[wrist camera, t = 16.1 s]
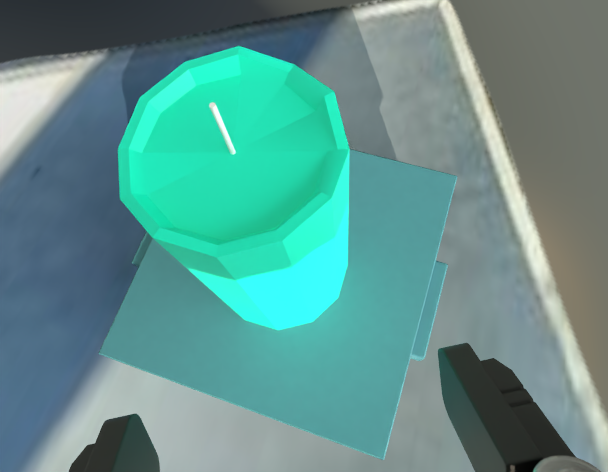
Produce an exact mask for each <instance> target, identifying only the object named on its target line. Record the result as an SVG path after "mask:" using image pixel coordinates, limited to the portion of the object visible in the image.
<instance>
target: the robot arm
mask: <svg viewBox="0 0 608 472" xmlns="http://www.w3.org/2000/svg"><path fill="white" fill-rule="evenodd" d="M438 358H439V368H440V378H441V387H442V395H443V400H444V404H445V407H446V410H447V413H448V416H449V418H450V420H451V422H452V424H453V426H454V428H455V430H456V432H457V435H458V437H459V439H460V441H461V443H462V445H463V447H464V449H465V451H466V453H467V455H468V457H469V459H470V462H471V464H472V466H473V468H474V470H475V472H601V471H600V470H598V469H597V468H596V467H594V466H593V465H591V464H590V463H588V462H586V461H584V460H581V459H578V458H576V457H575V455H574V454H573V453H572V452H571V451H570V449H569V448H568V446H567V445H566V444H565V442H564V441H563V440H562V438H561V437H560V436H559V434H558V433H557V431H556V430H555V429H554V427H553V426H552V425H551V423H550V422H549V420H548V419H547V418H546V416H545V415H544V414H543V412H542V411H541V410H540V408H539V407H538V405H537V404H536V403H535V402H533V399H532V397H531V396H530V395H529V393H528V392H527V390H526V389H524V388H523V385H522V384H521V382H520V381H519V379H518V378H517V377H516V375H515V374H514V373H513V371H512V370H511V369H509V368H508V367H506V366H505V365H503V364H502V363H500V362H499V361H497V360H496V359H494V358H493V359H488V360H483V361H480V360H479V358H478V357H477V355H476V354H475V352H474V351H473V349H472V348H471V346H470V345H469V344H468V343H463V344H459V345H454V346H449V347H445V348H440V349H439V350H438ZM69 472H160V466H159V459H158V455H157V453H156V450H155V448H154V446H153V444H152V442H151V440H150V438H149V435H148V433H147V431H146V429H145V427H144V425H143V423H142V420H141V418H140V417H139V416H138V415H137V414H132V415H127V416H122V417H118V418H113V419H109V420H106V421H105V422H104V424H103V426H102V428H101V431H100V433H99V435H98V438H97V440H96V443H95V444H91V445H87V446H86V448H85V449H84V450H83V451H82V452H81V454H80V455H79V456H78V457H77V459H76V460H75V461H74V462H73V463H72V465H71V467H70V470H69Z"/></svg>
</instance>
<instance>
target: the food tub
mask: <svg viewBox="0 0 608 472" xmlns="http://www.w3.org/2000/svg"><path fill="white" fill-rule="evenodd" d="M456 180H457V176H455V175H451V174H447V173H443V172H439V171H435V170H431V169H427V168H423V167H419V166H415V165H411V164H407V163H403V162H399V161H395V160H391V159H387V158H383V157H379V156H375V155H371V154H367V153H363V152H359V151H356V150H352V149H350V151H349V213H348V266H347V269H346V273H345V276H344V280H343V283H342V286H341V290H340V293H339V297H338V298H337V299H336V300H335V301H334V302H333V303H332V304H331V305H330V306H329V307H328V308H327V309H326V310H325V311H324V312H323V313H322V314H320V315H319V316H318V317H317V318H316V319H315V320H314V321H313V322H310V323H306V324H302V325H298V326H294V327H290V328H285V329H281V330H275V329H272V328H269V327H266V326H262V325H259V324H256V323H252V322H249V321H246V320H244V319H243V318H242V317H241V316H240V315H239V314H237V313H236V312H235V311H234V310H233V309H232V308H231V307H230V306H228V305H227V304H226V303H225V302H224V301H223V300H222V299H221V298H219V297H218V296H217V295H216V294H215V293H214V292H213V291H212V290H210V289H209V288H208V287H207V286H206V285H205V284H204V283H203V282H201V281H200V280H199V279H198V278H197V277H196V276H195V275H194V274H192V273H191V272H190V271H189V270H188V269H187V268H186V267H185V266H183V265H182V264H181V263H180V262H179V261H178V260H177V259H176V258H175V257H173V256H172V255H171V254H170V253H169V252H168V251H167V250H166V249H164V248H163V247H162V246H161V245H160V244H159V243H158V242H157V241H155V240H154V239H153V238H152V237H151V236H150V234H149V233H148V232H147V231H146V233H145V235H144V238H143V240H142V242H141V244H140V246H139V248H138V250H137V252H136V254H135V257H134V259H133V261H132V264H134V265H135V266H137V267H138V270H137V272H136V274H135V276H134V278H133V281H132V283H131V285H130V287H129V289H128V291H127V293H126V296H125V298H124V300H123V302H122V304H121V306H120V308H119V311H118V313H117V315H116V317H115V319H114V321H113V323H112V325H111V328H110V330H109V332H108V334H107V336H106V338H105V340H104V343H103V345H102V347H101V349H100V351H99V354H100V355H103V356H106V357H108V358H111V359H114V360H116V361H119V362H122V363H124V364H127V365H130V366H132V367H135V368H138V369H141V370H143V371H146V372H149V373H151V374H154V375H157V376H159V377H162V378H165V379H167V380H170V381H173V382H175V383H178V384H181V385H183V386H186V387H189V388H191V389H194V390H197V391H199V392H202V393H205V394H207V395H210V396H213V397H215V398H218V399H221V400H224V401H226V402H229V403H232V404H234V405H237V406H240V407H242V408H245V409H248V410H250V411H253V412H256V413H258V414H261V415H264V416H266V417H269V418H272V419H274V420H277V421H280V422H282V423H285V424H288V425H290V426H293V427H296V428H298V429H301V430H304V431H306V432H309V433H312V434H315V435H317V436H320V437H323V438H325V439H328V440H331V441H333V442H336V443H339V444H341V445H344V446H347V447H349V448H352V449H355V450H357V451H360V452H363V453H365V454H368V455H371V456H373V457H376V458H379V459H381V460H384V458H385V454H386V450H387V446H388V442H389V439H390V435H391V431H392V427H393V423H394V419H395V415H396V412H397V408H398V404H399V400H400V396H401V392H402V388H403V385H404V381H405V377H406V373H407V369H408V365H409V361H410V358H411V359H414V360H417V361H421V360H423V359H424V358H425V355H426V351H427V347H428V343H429V339H430V335H431V331H432V327H433V323H434V319H435V315H436V311H437V307H438V303H439V299H440V295H441V291H442V287H443V283H444V279H445V275H446V271H447V267H448V265H447V264H445V263H442V262H438V261H436V257H437V253H438V249H439V245H440V242H441V238H442V234H443V230H444V226H445V222H446V218H447V215H448V211H449V207H450V203H451V199H452V195H453V191H454V188H455V184H456Z"/></svg>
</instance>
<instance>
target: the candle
mask: <svg viewBox="0 0 608 472" xmlns="http://www.w3.org/2000/svg"><path fill="white" fill-rule="evenodd" d="M349 151H350V149H349V145H348V141H347V138H346V134H345V130H344V126H343V123H342V119H341V115H340V111H339V108H338V104H337V100H336V96H335V92H334V91H333V90H331V89H330V88H328V87H327V86H326V85H324V84H323V83H321V82H320V81H318V80H317V79H315V78H314V77H312V76H311V75H309V74H308V73H306V72H305V71H303V70H302V69H300V68H299V67H297V66H296V65H294V64H291V63H288V62H285V61H282V60H279V59H277V58H274V57H271V56H268V55H265V54H262V53H259V52H256V51H253V50H250V49H247V48H244V47H241V46H237V47H233V48H230V49H227V50H223V51H220V52H216V53H213V54H210V55H206V56H203V57H200V58H196V59H193V60H189V61H186V62H184V63H183V64H181V65H180V66H179V67H177V68H176V69H175V70H174V71H172V72H171V73H170V74H169V75H167V76H166V77H165V78H164V79H162V80H161V81H160V82H159V83H157V84H156V85H155V86H153V87H152V88H151V89H150V90H148V91H147V92H146V93H145V94H143V95H142V96H141V97H140V98H139V100H138V103H137V105H136V107H135V110H134V112H133V115H132V117H131V119H130V122H129V124H128V126H127V129H126V131H125V133H124V136H123V138H122V140H121V143H120V145H119V147H118V165H119V189H120V200H121V201H122V202H123V203H124V204H125V206H126V207H127V208H128V209H129V210H130V212H131V213H132V214H133V215H134V216H135V218H136V219H137V220H138V221H139V222H140V224H141V225H142V226H143V227H144V228H145V230H146V231H147V232H148V233H149V234H150V236H151V237H152V238H153V239H154V240H155V241H157V242H158V243H159V244H160V245H161V246H162V247H163V248H164V249H166V250H167V251H168V252H169V253H170V254H171V255H172V256H173V257H175V258H176V259H177V260H178V261H179V262H180V263H181V264H182V265H183V266H185V267H186V268H187V269H188V270H189V271H190V272H191V273H192V274H194V275H195V276H196V277H197V278H198V279H199V280H200V281H201V282H203V283H204V284H205V285H206V286H207V287H208V288H209V289H210V290H212V291H213V292H214V293H215V294H216V295H217V296H218V297H219V298H221V299H222V300H223V301H224V302H225V303H226V304H227V305H228V306H230V307H231V308H232V309H233V310H234V311H235V312H236V313H237V314H239V315H240V316H241V317H242V318H243V319H244V320H246V321H249V322H252V323H256V324H259V325H262V326H266V327H269V328H272V329H275V330H281V329H285V328H290V327H294V326H298V325H302V324H306V323H310V322H313V321H314V320H315V319H316V318H317V317H318V316H319V315H320V314H322V313H323V312H324V311H325V310H326V309H327V308H328V307H329V306H330V305H331V304H332V303H333V302H334V301H335V300H336V299H337V298H338V297H339V293H340V290H341V286H342V283H343V280H344V276H345V273H346V269H347V266H348V213H349Z"/></svg>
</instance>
